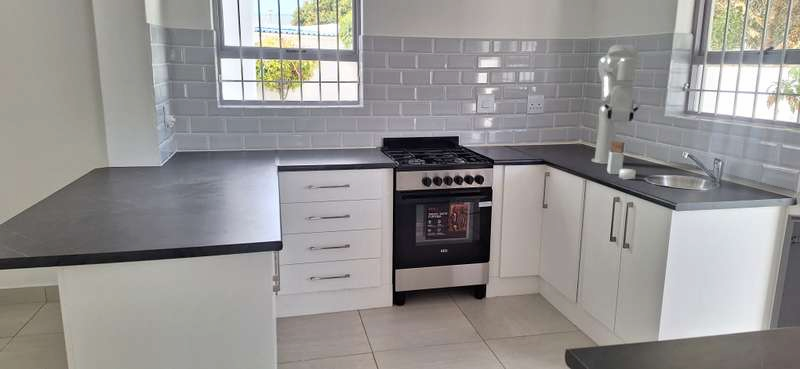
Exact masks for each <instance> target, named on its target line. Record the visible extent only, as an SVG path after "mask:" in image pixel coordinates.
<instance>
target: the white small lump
mask: <svg viewBox="0 0 800 369" xmlns="http://www.w3.org/2000/svg"><path fill="white" fill-rule="evenodd" d="M618 178H619V179H621V178H622V180H626V179H634V180H635V179H636V170H635V169H633V168H632V169H631V168H622V169H620V172H619V175H618Z"/></svg>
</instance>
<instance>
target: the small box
mask: <svg viewBox="0 0 800 369" xmlns="http://www.w3.org/2000/svg"><path fill="white" fill-rule="evenodd" d="M624 155H625V153H624V152H623V153H614V152H610V151H609V159H608V164H607V166H606V167H607V168H606V171H607V173H608V174H609V175H618V176H619V172H620V169H623V165H624V163H623V162H624V158H625V156H624Z"/></svg>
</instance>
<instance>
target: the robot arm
mask: <svg viewBox="0 0 800 369" xmlns="http://www.w3.org/2000/svg"><path fill="white" fill-rule="evenodd" d="M638 56H639V50H638V47H637V46H635V45H633V44H632V45H631V44H630V45H629V44H614V45H612V46H610V47H609V49H608V51H607V55H603V56H602V57H600V58H599V60H598V63H597V65H598V66H597V68H598V74H599V78H600V82H601V102H602V103H603V104H602V105H601V106H599V109H598V129H597V138H596V147H595V154H594V158H591V162H593V163H595V164H602V165H608V159H609V151H610V150H611V143H612V142H613V141H617V135H618V134H617V133H618V131H617V128H616V126H615V125H614V123H619V124H630V123H631V122H632V121H633V119H634V115H635V112H636V111H638V110H639V108H640V107H641V106H642V103H641V102H639V101H637V100H636V99H635V88H634V87H633V86H634V81H635V80H634V79H635V74H636V73H635V71H636V69H637V65H638V64H637V63H638V62H637V58H638ZM613 73H617V76H616V75H615V74H613ZM634 104H635V105H636V107H635V106H634Z"/></svg>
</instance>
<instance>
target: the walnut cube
mask: <svg viewBox="0 0 800 369" xmlns="http://www.w3.org/2000/svg"><path fill="white" fill-rule="evenodd" d="M625 143H626V142H624V141H619V140H616V141H613V142H612V143H611V150H610V152H614V153H623V154H624V150H625Z"/></svg>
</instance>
